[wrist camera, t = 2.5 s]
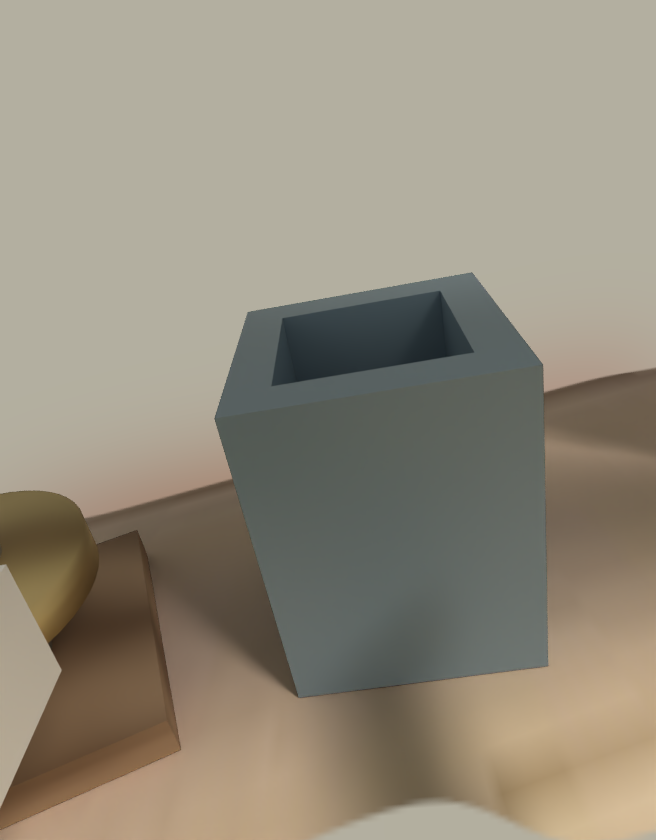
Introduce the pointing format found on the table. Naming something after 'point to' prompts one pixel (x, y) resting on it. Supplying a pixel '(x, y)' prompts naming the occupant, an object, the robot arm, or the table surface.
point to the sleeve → (393, 483)
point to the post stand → (86, 653)
